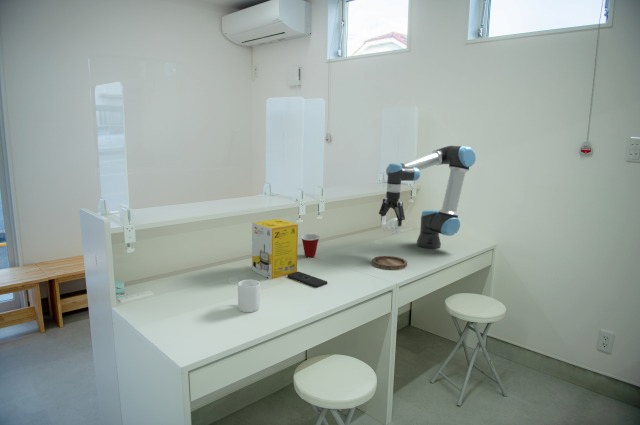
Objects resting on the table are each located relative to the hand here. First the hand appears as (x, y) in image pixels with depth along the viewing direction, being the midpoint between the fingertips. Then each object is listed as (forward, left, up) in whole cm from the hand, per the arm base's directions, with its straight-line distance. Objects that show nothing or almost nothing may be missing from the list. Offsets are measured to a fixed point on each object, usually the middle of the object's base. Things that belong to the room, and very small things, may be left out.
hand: (390, 229), depth 241 cm
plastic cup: (+38, -25, -17) cm, 49 cm away
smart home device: (+61, +7, -18) cm, 64 cm away
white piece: (0, 0, -2) cm, 2 cm away
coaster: (+8, +9, -17) cm, 21 cm away
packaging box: (+68, -12, -17) cm, 71 cm away
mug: (+99, +21, -17) cm, 102 cm away
